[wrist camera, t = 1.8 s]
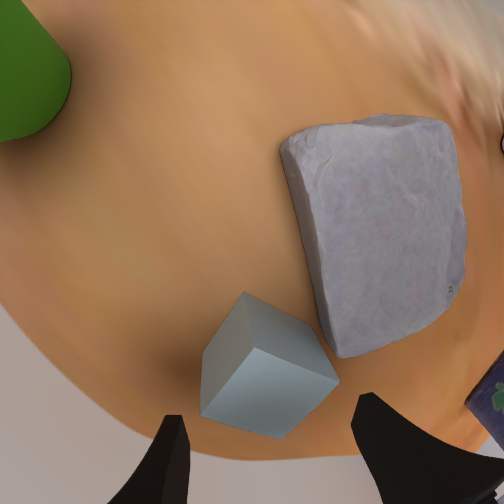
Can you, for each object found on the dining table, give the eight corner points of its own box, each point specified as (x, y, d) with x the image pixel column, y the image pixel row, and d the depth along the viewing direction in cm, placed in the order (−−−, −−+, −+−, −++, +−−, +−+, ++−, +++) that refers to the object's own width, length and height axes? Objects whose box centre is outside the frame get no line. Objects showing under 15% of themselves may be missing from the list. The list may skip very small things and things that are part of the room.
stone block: (401, 109, 15) (255, 139, 13) (461, 103, 11) (302, 126, 9) (422, 276, 19) (309, 342, 17) (471, 300, 15) (352, 388, 13)
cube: (310, 325, 16) (340, 381, 12) (267, 378, 17) (281, 439, 12) (243, 291, 15) (254, 347, 11) (202, 351, 16) (199, 415, 11)
